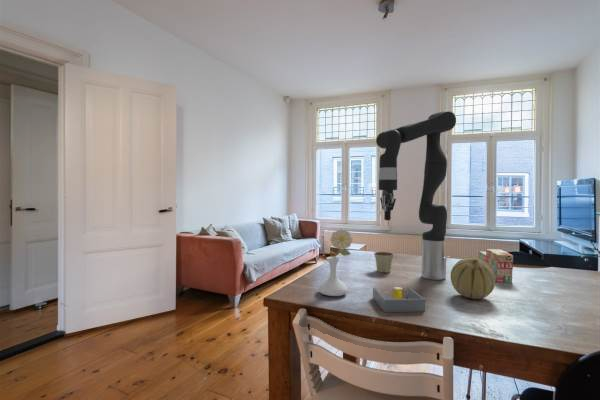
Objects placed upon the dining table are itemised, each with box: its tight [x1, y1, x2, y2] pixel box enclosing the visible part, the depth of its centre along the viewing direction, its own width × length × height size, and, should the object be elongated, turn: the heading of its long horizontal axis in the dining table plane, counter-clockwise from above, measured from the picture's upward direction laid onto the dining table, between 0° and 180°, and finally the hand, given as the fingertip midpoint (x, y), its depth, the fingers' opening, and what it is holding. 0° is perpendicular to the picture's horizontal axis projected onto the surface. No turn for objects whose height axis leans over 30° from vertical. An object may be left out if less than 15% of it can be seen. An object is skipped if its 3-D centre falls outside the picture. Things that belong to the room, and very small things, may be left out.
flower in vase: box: [317, 228, 353, 297], centre depth 117 cm, size 13×11×25 cm
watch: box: [393, 286, 404, 299], centre depth 107 cm, size 6×3×6 cm, turn 178°
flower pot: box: [373, 251, 395, 274], centre depth 150 cm, size 9×9×9 cm
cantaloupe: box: [450, 257, 496, 300], centre depth 114 cm, size 15×15×15 cm
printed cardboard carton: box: [478, 248, 514, 284], centre depth 143 cm, size 21×6×12 cm, turn 169°
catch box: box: [372, 286, 426, 313], centre depth 107 cm, size 14×13×4 cm
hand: (387, 220), depth 130 cm, fingers closed
